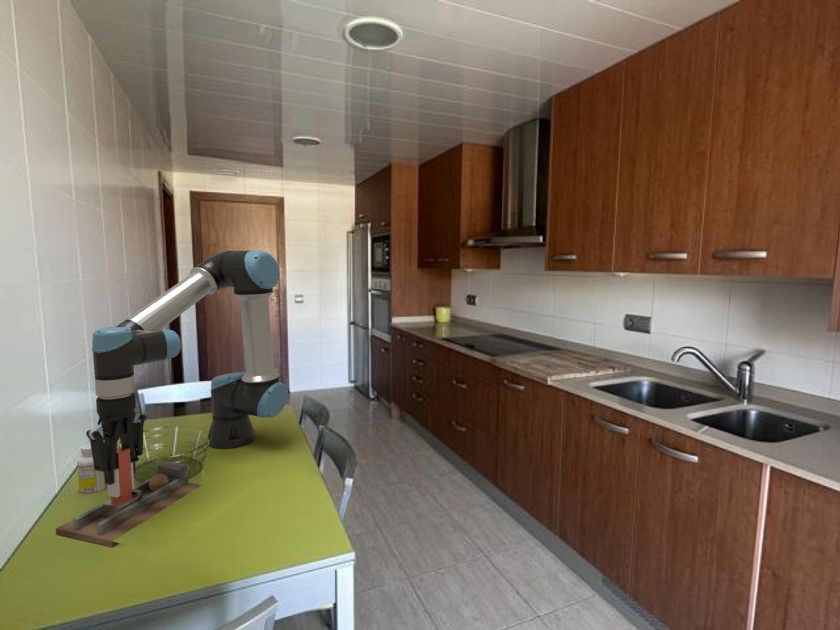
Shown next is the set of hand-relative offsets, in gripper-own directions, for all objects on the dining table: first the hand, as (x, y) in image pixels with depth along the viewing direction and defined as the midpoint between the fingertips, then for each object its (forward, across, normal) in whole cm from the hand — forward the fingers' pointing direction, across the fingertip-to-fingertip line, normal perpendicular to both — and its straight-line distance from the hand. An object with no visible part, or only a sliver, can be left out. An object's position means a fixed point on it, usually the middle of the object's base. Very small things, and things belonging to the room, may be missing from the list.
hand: (121, 491), depth 106 cm
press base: (+7, -4, 0) cm, 7 cm away
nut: (+5, -10, 0) cm, 12 cm away
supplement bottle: (+7, -8, -18) cm, 21 cm away
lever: (+5, 0, 0) cm, 5 cm away
